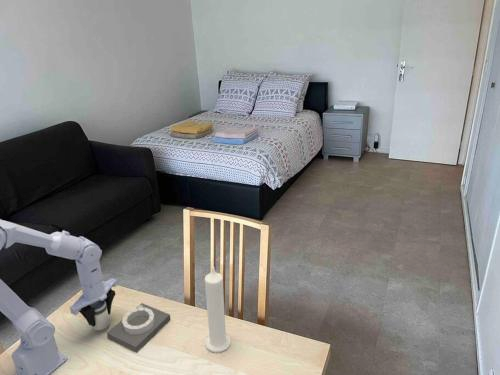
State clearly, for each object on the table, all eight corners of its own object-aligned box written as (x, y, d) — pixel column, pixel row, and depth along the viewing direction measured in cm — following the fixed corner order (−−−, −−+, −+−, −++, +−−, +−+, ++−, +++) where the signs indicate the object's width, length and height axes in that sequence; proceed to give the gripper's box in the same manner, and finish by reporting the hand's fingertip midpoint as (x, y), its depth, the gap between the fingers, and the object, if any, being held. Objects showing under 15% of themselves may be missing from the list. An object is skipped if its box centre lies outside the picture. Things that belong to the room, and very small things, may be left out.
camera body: (136, 352, 102) (134, 341, 101) (107, 338, 107) (105, 327, 105) (170, 319, 113) (169, 309, 112) (142, 308, 118) (141, 297, 117)
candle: (227, 354, 101) (222, 276, 91) (201, 351, 102) (194, 273, 92) (233, 335, 107) (230, 260, 97) (209, 331, 109) (203, 257, 99)
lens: (100, 332, 107) (95, 312, 104) (87, 326, 109) (83, 306, 106) (113, 321, 111) (109, 301, 108) (101, 316, 113) (97, 296, 110)
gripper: (79, 299, 96) (88, 340, 102) (122, 269, 108) (128, 308, 113) (60, 291, 99) (71, 331, 105) (104, 263, 111) (111, 300, 116)
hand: (99, 318), depth 109 cm, fingers closed on lens, 5 cm apart
